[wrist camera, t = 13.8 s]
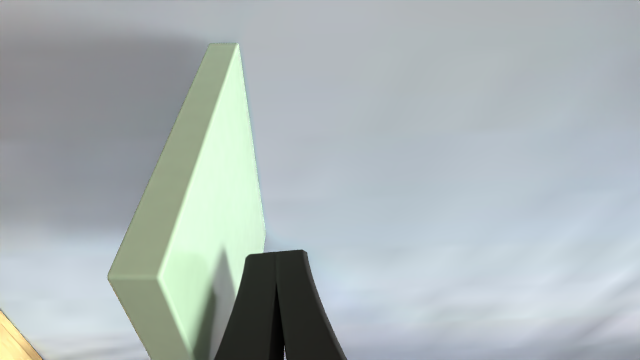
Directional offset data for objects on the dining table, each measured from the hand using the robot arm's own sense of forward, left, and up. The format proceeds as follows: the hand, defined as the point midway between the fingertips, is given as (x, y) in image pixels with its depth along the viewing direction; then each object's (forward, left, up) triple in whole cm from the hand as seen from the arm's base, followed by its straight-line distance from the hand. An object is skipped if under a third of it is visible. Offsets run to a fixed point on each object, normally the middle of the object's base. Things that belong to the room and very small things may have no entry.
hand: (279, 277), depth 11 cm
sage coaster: (0, +1, -5) cm, 5 cm away
